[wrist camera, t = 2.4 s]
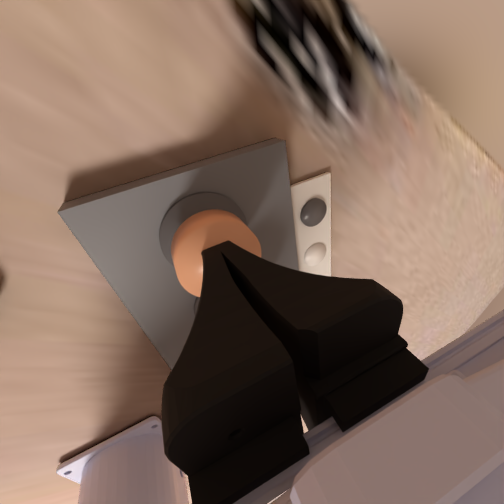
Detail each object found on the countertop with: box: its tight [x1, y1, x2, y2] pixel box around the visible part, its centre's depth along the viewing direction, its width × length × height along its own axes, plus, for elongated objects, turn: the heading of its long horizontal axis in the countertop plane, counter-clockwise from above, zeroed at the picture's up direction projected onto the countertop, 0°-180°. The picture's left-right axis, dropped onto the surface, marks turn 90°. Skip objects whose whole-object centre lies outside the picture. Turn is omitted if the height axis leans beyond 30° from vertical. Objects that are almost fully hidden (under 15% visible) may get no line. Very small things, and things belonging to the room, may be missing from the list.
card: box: [290, 172, 331, 276], centre depth 19 cm, size 12×3×1 cm, turn 11°
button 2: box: [171, 209, 261, 297], centre depth 12 cm, size 4×4×3 cm
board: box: [58, 138, 299, 370], centre depth 17 cm, size 18×11×2 cm, turn 11°
